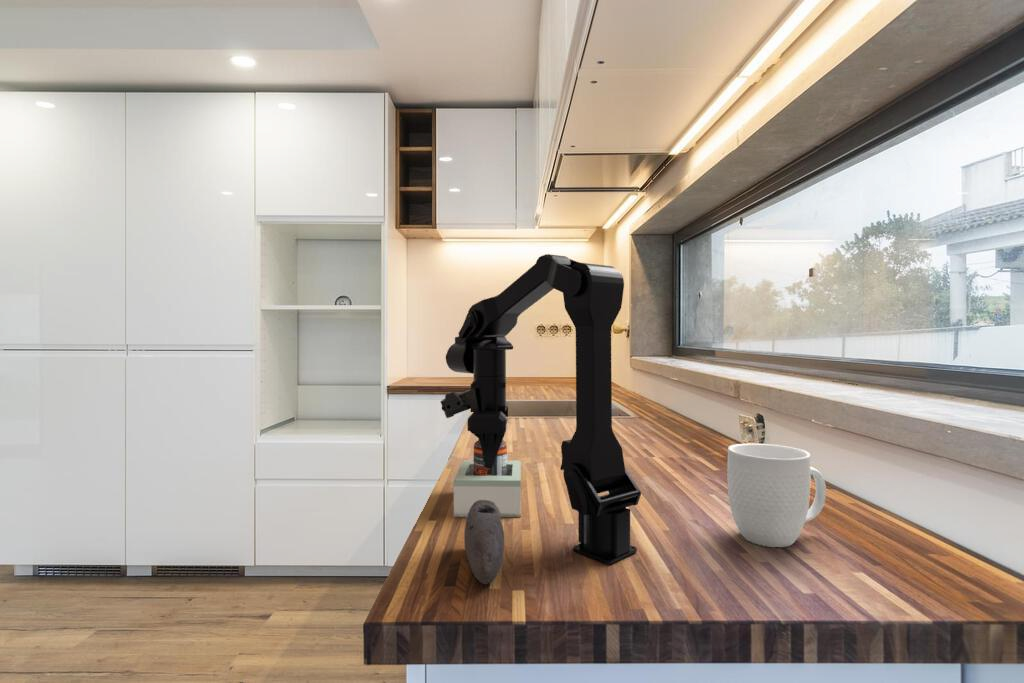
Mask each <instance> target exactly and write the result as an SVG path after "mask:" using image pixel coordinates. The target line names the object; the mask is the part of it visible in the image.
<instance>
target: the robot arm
mask: <svg viewBox="0 0 1024 683" xmlns="http://www.w3.org/2000/svg"><path fill="white" fill-rule="evenodd" d="M624 288H625V280H624V276H623V274H622V273H620V271H619V270H618V269H617V268H616V267H614V266H611V265H603V264H595V263H587V262H580V261H577V260H573V259H571V258H570V257H568V256H567V255H566V256H565V255H557V254H549V253H548V254H547V253H545V254H544V255H541V256H539V257H538V258H537V260H536V262H535V264H533V265H531V267H530V268H529V269H527V271H525V272H524V273H522V274H521V275H520V276H518V278H517V279H516V280H514V281H513V282H512V283H510V285H508V286H507V287H506V288H505V289H504V290H503V291H501V292H500V293H499V294H497V295H495V296H492V297H488V298H484V299H481V300H480V301H478V302H475V303H474V304H472V305H471V307H469V309H468V311H467V314H466V317H465V319H464V321H463V323H462V326H461V327H460V329H459V331H458V336H455V337H454V343H453V344H452V345H450V346H449V348H448V349H447V352H446V354H445V363H446V365H447V366H448V368H449V369H450V370H451V371H453V372H454V373H460V374H461V373H464V374H470V375H473V381H472V382H471V383H470V389H467V390H465V391H461V392H459V393H457V392H456V391H455V390H453V391H451V392H449V393H446V394H445V397H444V398H443V399H441V400H440V405H441V411H442V412H444V415H445V418H446V419H450V418H452V417H454V416H455V415H457V414H460V413H463V412H466V411H469V410H470V413H471V414H470V415H469V416H468V418H467V431H468V432H470V433H471V434H473V435H474V436H475V437H476V438H477V439H478V440H480V444H481V449H482V453H483V458H484V462H485V466H486V468H492V467H493V464H494V461H495V459H496V456H497V453H498V451H499V448H500V445H501V443H502V440H503V441H504V437H505V435H506V432H507V423H508V421H509V419H508V417H509V404H507V402H506V401H507V373H506V372H507V364H506V362H507V354H506V352H507V351H509V350H513V349H514V345H513V344H512V343H511V342H510V341H509V340H508V339H507V338H506V336H508V335H509V334H510V332H511V331H512V330H513V329H514V328H515V327H516V326H517V323H518V319H519V317H520V315H521V314H522V313H524V312H525V311H526V310H528V309H530V308H531V306H533V305H534V304H535V303H538V301H540V300H541V299H542V298H544V297H545V296H546V295H547V294H548V293H550V292H552V291H553V290H556V291H559V293H560V292H561V293H562V296H563V302H564V303H563V304H564V309H565V311H566V313H567V315H568V317H569V318H570V320H571V323H572V324H573V326H574V329H575V409H576V410H575V412H576V413H575V414H576V415H575V417H576V418H575V419H576V420H575V421H576V422H575V423H576V424H575V425H576V426H575V431H574V433H573V436H572V437H571V439H567V440H562V442H561V444H560V445H561V446H560V450H561V465H560V467H559V468H560V470H561V471H563V480H564V483H565V485H566V490H567V495H568V498H569V502H570V507H571V509H572V510H575V511H577V512H578V526H577V527H578V530H577V531H578V532H577V534H578V544H576V545H573V546H572V551H573V552H576V553H579V554H581V555H584V556H586V557H588V558H592V559H594V560H596V561H599V562H602V563H605V564H608V565H611V564H613V563H616V562H619V561H620V560H622V559H624V558H627V557H628V556H630V555H633V554H635V553H636V552H638V547H636V546H634V545H631V509H630V508H629V507H631V506H637V505H638V504H639V501H640V499H641V496H642V491H641V489H640V488H639V487H638V485H637V483H636V482H635V481H634V479H633V477H632V476H631V475H630V473H629V472H628V470H627V469H626V467H625V466H626V465H625V460H624V452H623V447H622V446H621V443H620V442H619V440H618V438H617V436H616V435H615V433H614V431H613V423H612V422H613V420H612V418H613V417H612V416H613V413H612V412H613V411H612V410H613V409H612V408H613V407H612V406H613V405H612V404H613V403H612V401H613V400H612V397H613V396H612V394H613V393H612V389H613V388H612V383H613V382H612V328H613V325H614V322H615V321H616V319H617V317H618V315H619V313H620V311H621V309H622V304H623V298H624V297H623V296H624ZM604 492H608V494H603V495H600V496H599V494H602V493H604Z"/></svg>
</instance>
